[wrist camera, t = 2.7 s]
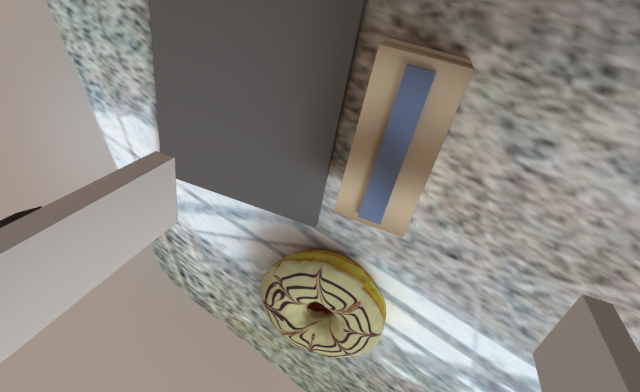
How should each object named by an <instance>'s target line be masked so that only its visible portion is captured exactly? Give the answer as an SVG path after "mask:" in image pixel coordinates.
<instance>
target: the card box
mask: <svg viewBox="0 0 640 392" xmlns="http://www.w3.org/2000/svg"><path fill="white" fill-rule="evenodd" d="M473 71H474V68H473V65H472V63H471V60H470V59H468V58H465V57H461V56H457V55H453V54H449V53H445V52H441V51H438V50H434V49H430V48H426V47H422V46H418V45H415V44H411V43H407V42H403V41H399V40H395V39H392V38H390V39H388V40H386V41H384V42H382V43H381V44H379V47H378V50H377V54H376V58H375V62H374V65H373V69H372V73H371V76H370V80H369V84H368V87H367V91H366V95H365V98H364V102H363V106H362V110H361V113H360V117H359V121H358V124H357V128H356V132H355V135H354V139H353V143H352V146H351V150H350V154H349V158H348V161H347V165H346V169H345V172H344V176H343V180H342V183H341V187H340V191H339V194H338V198H337V202H336V206H335V209H334V213H337V214H340V215H342V216H345V217H348V218H351V219H353V220H356V221H359V222H362V223H365V224H367V225H370V226H373V227H376V228H378V229H381V230H384V231H387V232H390V233H392V234H395V235H398V236H401V237H403V236H404V234H405V231H406V229H407V227H408V224H409V222H410V219H411V217H412V215H413V212H414V210H415V208H416V205H417V203H418V201H419V198H420V196H421V194H422V191H423V189H424V186H425V184H426V182H427V179H428V177H429V175H430V172H431V170H432V168H433V165H434V163H435V161H436V158H437V156H438V153H439V151H440V149H441V146H442V144H443V142H444V139H445V137H446V135H447V132H448V130H449V128H450V125H451V123H452V120H453V118H454V116H455V113H456V111H457V109H458V106H459V104H460V102H461V99H462V97H463V94H464V92H465V90H466V87H467V85H468V83H469V80H470V78H471V76H472V73H473Z"/></svg>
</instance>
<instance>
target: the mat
mask: <svg viewBox="0 0 640 392" xmlns="http://www.w3.org/2000/svg"><path fill="white" fill-rule="evenodd" d="M365 2H366V0H149V3H150V16H151V30H152V43H153V57H154V70H155V84H156V97H157V111H158V124H159V138H160V151H161V153H162V154H165V155H168V156H171V157H174V158H175V174H176V179H179V180H182V181H185V182H187V183H190V184H193V185H196V186H199V187H202V188H204V189H207V190H210V191H213V192H216V193H219V194H221V195H224V196H227V197H230V198H233V199H236V200H239V201H241V202H244V203H247V204H250V205H253V206H256V207H258V208H261V209H264V210H267V211H270V212H273V213H275V214H278V215H281V216H284V217H287V218H290V219H293V220H295V221H298V222H301V223H304V224H307V225H310V226H312V227H316V225H317V222H318V218H319V213H320V209H321V204H322V199H323V195H324V190H325V186H326V181H327V177H328V172H329V167H330V163H331V158H332V154H333V149H334V144H335V140H336V135H337V131H338V126H339V122H340V117H341V112H342V108H343V103H344V99H345V94H346V89H347V85H348V80H349V76H350V71H351V66H352V62H353V57H354V53H355V48H356V44H357V39H358V34H359V30H360V25H361V21H362V16H363V11H364V7H365Z"/></svg>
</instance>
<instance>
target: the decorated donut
mask: <svg viewBox="0 0 640 392" xmlns="http://www.w3.org/2000/svg"><path fill="white" fill-rule="evenodd" d="M261 299H262V304H263V307H264V310H265V313H266V315H267V317H268V318H269V320H270V322H271V323H272V325H273V326H274V328H275V329H276V330H277V331H278V332H279V333H280V334H281V335H282V336H283V337H284V339H285V340H286V341H288V342H289V343H290V344H292V345H293V346H295V347H298V348H301V349H303V350H307V351H309V352H312V353H316V354H320V355H324V356H326V357H334V358H337V357H354V356H357V355H359V354H362V353H364V352H366V351H368V350H370V349H371V348H373V347H375V346H376V345H377V343H378V342H379V340H380V336H381V333H382V331H383V327H384V324H385V319H386V305H385V301H384V298H383V296H382V294H381V292H380V291H379V289H378V288H377V286H376V284H375V283H374V282H373V279H372V278H371V277H370V276H369V275H368V274H367V273H366V272H365V271H364V270H363V269H362V268H361V267H360V266H359V265H358V264H357V263H355V262H353V261H352V260H350V259H348V258H347V257H345V256H342V255H340V254H337V253H335V252H330V251H324V250H314V249H312V250H304V251H301V252H297V253H294V254H290V255H288V256H286V257H284V258H283V259H282V260H281V261H279V262H278V263H276V264H275V265H274V266H272V267H271V268H270V270H269V272H267V274H265V275H264V276H263V279H262V281H261ZM315 301H316V302H318V303H320V304H322V305H323V306H322V305H318V304H317V303H316V302H315Z"/></svg>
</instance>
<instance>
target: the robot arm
mask: <svg viewBox="0 0 640 392" xmlns="http://www.w3.org/2000/svg"><path fill="white" fill-rule="evenodd" d="M176 222H178V215H177V195H176V174H175V158H174V157H171V156H168V155H165V154H162V153H159V152H157V151H155V152H153V153H151V154H149V155H147V156H145V157H143V158H141V159H139V160H137V161H135V162H133V163H131V164H129V165H127V166H125V167H123V168H121V169H119V170H117V171H115V172H113V173H111V174H109V175H107V176H105V177H103V178H101V179H99V180H97V181H95V182H93V183H91V184H89V185H87V186H85V187H82V188H80V189H79V190H76V191H74V192H72V193H70V194H69V195H66V196H64V197H63V198H60V199H58V200H56V201H54V202H52V203H50V204H48V205H46V206H44V207H41V206H40V207H37V208H33V209H29V210H26V211H22V212H19V213H16V214H13V215H11V216H9V217H7V218H5V219H3V220H1V221H0V362H2V361H3V360H4V359H6V358H7V357H8V356H10V355H11V354H12V353H13V352H14V351H16V350H17V349H18V348H19V347H21V346H22V345H23V344H25V343H26V342H27V341H28V340H30V339H31V338H32V337H33V336H35V335H36V334H37V333H38V332H40V331H41V330H42V329H43V328H45V327H46V326H47V325H48V324H50V323H51V322H52V321H53V320H55V319H56V318H57V317H58V316H60V315H61V314H62V313H63V312H65V311H66V310H67V309H68V308H70V307H71V306H72V305H73V304H75V303H76V302H77V301H78V300H80V299H81V298H82V297H84V296H85V295H86V294H87V293H88V292H90V291H91V290H92V289H93V288H95V287H96V286H97V285H99V284H100V283H101V282H102V281H104V280H105V279H106V278H107V277H109V276H110V275H111V274H112V273H114V272H115V271H116V270H117V269H119V268H120V267H121V266H122V265H124V264H125V263H126V262H127V261H129V260H130V259H131V258H132V257H134V256H135V255H136V254H137V253H139V252H140V251H141V250H142V249H144V248H145V247H146V246H147V245H149V244H150V243H151V242H153V241H154V240H155V239H156V238H158V237H159V236H160V235H161V234H163V233H164V232H165V231H166V230H168V229H169V228H170V227H171V226H173V225H174V224H175V223H176ZM533 357H534V361H535V365H536V369H537V373H538V377H539V381H540V385H541V389H542V392H640V353H639V351H638V349H637V347H636V346H635V344H634V342H633V340H632V338H631V337H630V335H629V333H628V331H627V329H626V328H625V326H624V324H623V322H622V321H621V319H620V317H619V315H618V313H617V312H616V310H615V308H614V306H613V304H610V303H607V302H604V301H601V300H598V299H595V298H592V297H589V296H586V295H583V294H582V295H581V296H580V298H579V299H578V300H577V301H576V302H575V304H574V305H573V306H572V307H571V308H570V310H569V311H568V312H567V313H566V314H565V315H564V317H563V318H562V319H561V320H560V321H559V323H558V324H557V325H556V326H555V327H554V329H553V330H552V331H551V332H550V333H549V334H548V336H547V337H546V338H545V339H544V340H543V342H542V343H541V344H540V345H539V346H538V348H537V349H536V350H535V351H534V352H533Z"/></svg>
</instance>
